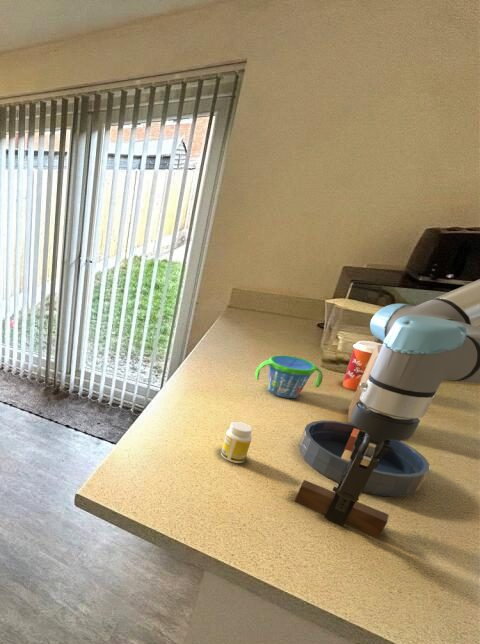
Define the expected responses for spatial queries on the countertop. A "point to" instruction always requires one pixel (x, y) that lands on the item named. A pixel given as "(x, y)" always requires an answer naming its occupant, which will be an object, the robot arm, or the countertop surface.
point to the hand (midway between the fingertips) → (335, 515)
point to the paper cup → (358, 363)
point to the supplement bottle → (237, 442)
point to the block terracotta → (352, 440)
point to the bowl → (386, 479)
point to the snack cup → (288, 375)
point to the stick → (358, 517)
